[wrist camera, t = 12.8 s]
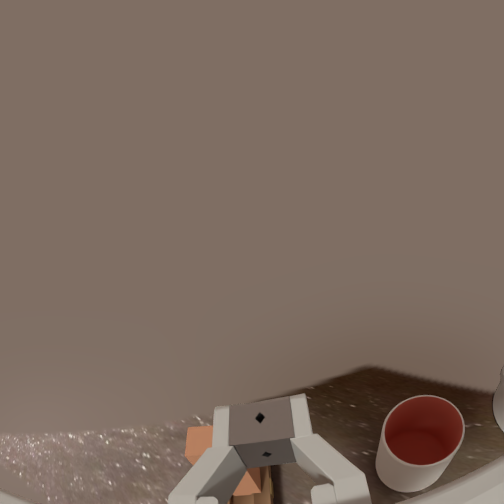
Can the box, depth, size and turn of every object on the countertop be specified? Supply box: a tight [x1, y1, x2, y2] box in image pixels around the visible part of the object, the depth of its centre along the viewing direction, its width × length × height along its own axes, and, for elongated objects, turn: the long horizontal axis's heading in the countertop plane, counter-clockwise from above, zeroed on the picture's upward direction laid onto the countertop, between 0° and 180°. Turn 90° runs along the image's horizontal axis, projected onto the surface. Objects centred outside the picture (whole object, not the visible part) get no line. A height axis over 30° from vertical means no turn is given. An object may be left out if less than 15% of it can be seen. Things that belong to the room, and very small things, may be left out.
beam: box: [227, 466, 274, 504], centre depth 33 cm, size 7×17×4 cm, turn 2°
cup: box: [376, 395, 465, 492], centre depth 30 cm, size 10×10×10 cm
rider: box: [185, 426, 261, 496], centre depth 30 cm, size 5×4×13 cm
